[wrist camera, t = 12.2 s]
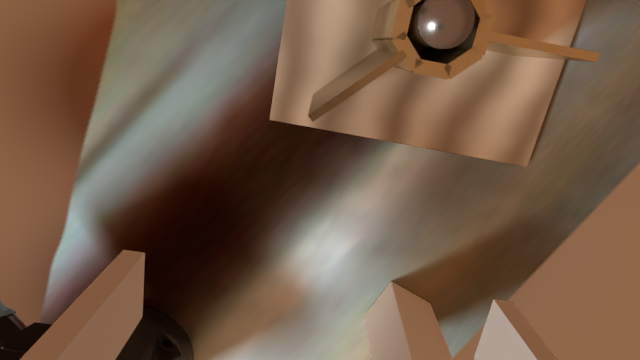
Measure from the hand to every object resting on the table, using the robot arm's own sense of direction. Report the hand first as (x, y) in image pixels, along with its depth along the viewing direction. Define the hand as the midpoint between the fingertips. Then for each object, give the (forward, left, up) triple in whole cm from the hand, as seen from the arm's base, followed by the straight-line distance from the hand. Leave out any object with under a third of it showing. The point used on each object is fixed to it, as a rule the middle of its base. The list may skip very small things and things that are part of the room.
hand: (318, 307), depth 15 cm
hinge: (+8, +9, -30) cm, 32 cm away
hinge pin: (+6, +12, -30) cm, 32 cm away
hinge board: (+8, +11, -31) cm, 34 cm away
